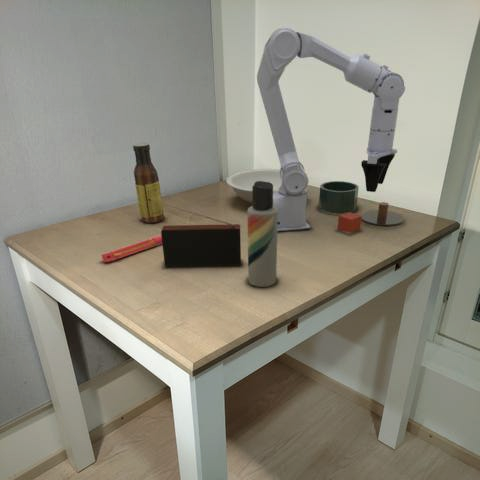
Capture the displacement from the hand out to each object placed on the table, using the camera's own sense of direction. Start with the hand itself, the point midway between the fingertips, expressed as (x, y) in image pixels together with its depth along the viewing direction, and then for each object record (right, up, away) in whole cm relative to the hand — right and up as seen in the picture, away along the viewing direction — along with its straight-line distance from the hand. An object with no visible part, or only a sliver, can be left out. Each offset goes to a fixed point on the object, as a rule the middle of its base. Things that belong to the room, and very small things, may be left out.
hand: (374, 187), depth 117 cm
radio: (-43, -21, -14) cm, 50 cm away
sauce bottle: (-58, -6, +11) cm, 59 cm away
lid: (+4, -6, +7) cm, 10 cm away
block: (-6, -11, +1) cm, 12 cm away
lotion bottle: (-29, -25, -21) cm, 44 cm away
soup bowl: (-26, +2, +23) cm, 35 cm away
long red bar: (-56, -16, -5) cm, 58 cm away
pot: (-6, -2, +16) cm, 17 cm away
